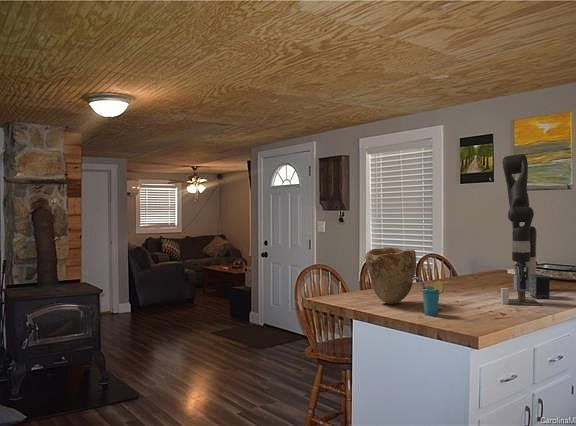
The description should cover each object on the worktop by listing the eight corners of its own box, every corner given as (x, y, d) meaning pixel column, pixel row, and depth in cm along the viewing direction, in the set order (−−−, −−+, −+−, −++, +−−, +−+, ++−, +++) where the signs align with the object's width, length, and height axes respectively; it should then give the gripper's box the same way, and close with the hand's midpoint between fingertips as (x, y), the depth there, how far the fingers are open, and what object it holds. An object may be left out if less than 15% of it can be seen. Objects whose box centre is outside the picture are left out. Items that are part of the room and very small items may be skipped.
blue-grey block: (513, 289, 232) (513, 274, 232) (526, 289, 231) (525, 275, 231) (516, 291, 227) (516, 276, 227) (529, 291, 226) (528, 276, 226)
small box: (550, 299, 236) (550, 277, 236) (535, 299, 238) (535, 276, 238) (543, 295, 247) (543, 274, 247) (529, 295, 248) (529, 274, 248)
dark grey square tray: (501, 299, 237) (501, 284, 237) (533, 300, 234) (533, 285, 234) (508, 305, 223) (508, 289, 223) (543, 306, 221) (542, 290, 221)
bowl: (357, 301, 236) (356, 248, 236) (396, 297, 245) (396, 246, 245) (384, 310, 216) (383, 251, 216) (427, 305, 225) (426, 249, 224)
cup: (408, 314, 207) (408, 277, 207) (416, 311, 213) (416, 275, 213) (442, 318, 199) (441, 280, 199) (449, 314, 205) (448, 277, 205)
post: (501, 303, 228) (501, 287, 228) (507, 303, 228) (507, 287, 228) (502, 304, 226) (502, 288, 226) (508, 304, 225) (508, 288, 225)
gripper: (508, 249, 237) (508, 285, 237) (516, 252, 223) (516, 290, 223) (525, 249, 235) (526, 286, 235) (534, 252, 221) (534, 291, 221)
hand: (521, 288), depth 229 cm, fingers closed on blue-grey block, 5 cm apart
